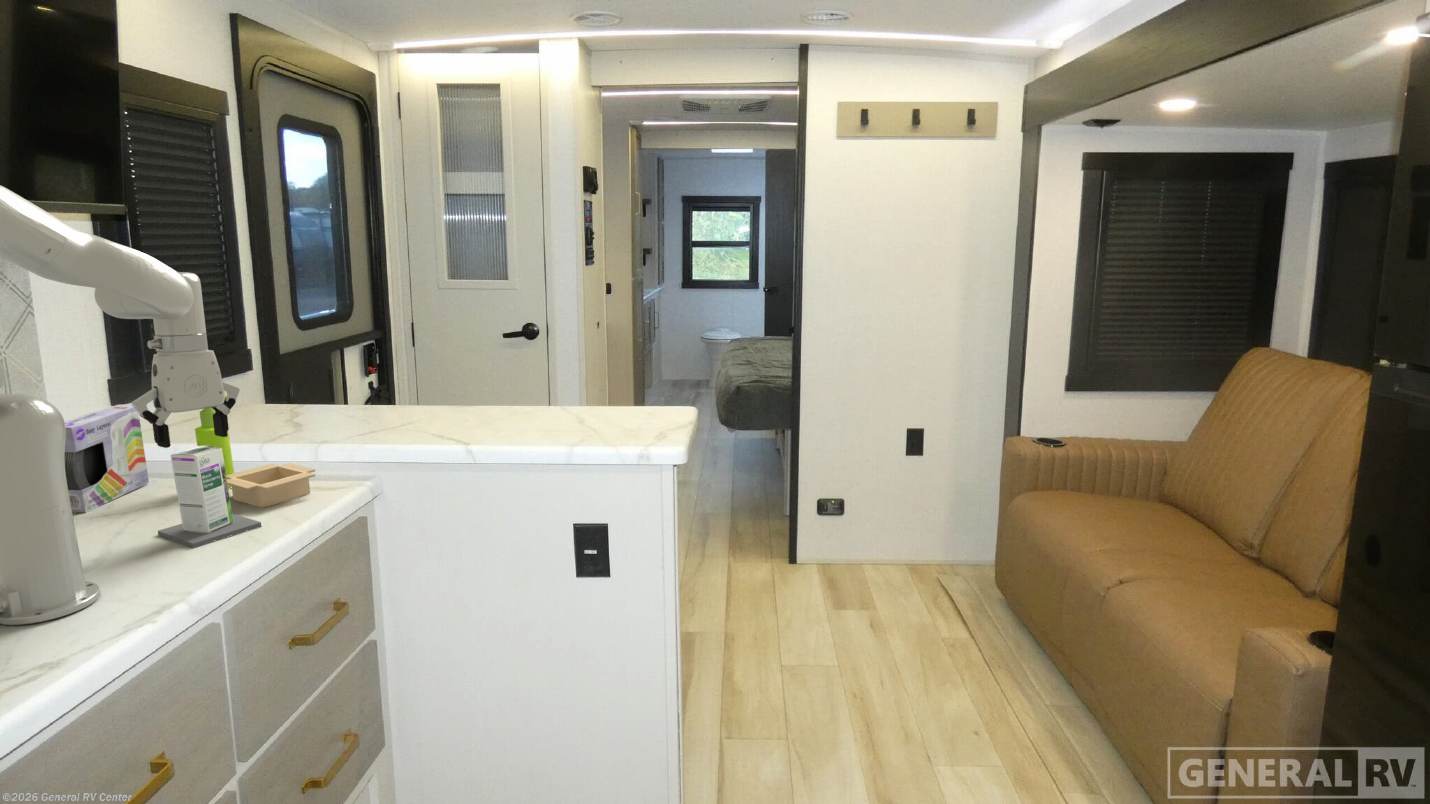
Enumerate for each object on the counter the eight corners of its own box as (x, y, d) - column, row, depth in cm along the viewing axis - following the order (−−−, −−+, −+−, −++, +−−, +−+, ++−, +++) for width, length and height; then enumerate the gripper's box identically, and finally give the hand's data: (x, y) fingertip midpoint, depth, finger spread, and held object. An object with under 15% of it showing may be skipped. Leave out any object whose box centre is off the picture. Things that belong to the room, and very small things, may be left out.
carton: (259, 513, 163) (256, 490, 162) (216, 500, 171) (213, 478, 170) (326, 492, 175) (324, 471, 174) (283, 481, 183) (281, 461, 182)
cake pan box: (83, 515, 163) (67, 426, 160) (58, 515, 164) (41, 426, 160) (152, 484, 182) (139, 403, 178) (130, 484, 182) (116, 403, 179)
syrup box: (208, 534, 150) (196, 455, 147) (181, 531, 152) (169, 452, 149) (234, 522, 156) (223, 446, 153) (208, 520, 157) (196, 444, 154)
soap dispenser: (230, 491, 176) (217, 397, 172) (197, 492, 176) (183, 397, 172) (246, 483, 182) (233, 391, 178) (214, 483, 182) (201, 391, 178)
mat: (193, 547, 146) (192, 543, 146) (158, 534, 153) (157, 530, 152) (261, 526, 156) (260, 522, 156) (225, 515, 162) (225, 511, 162)
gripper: (137, 351, 138) (150, 454, 141) (244, 341, 152) (253, 434, 155) (115, 348, 142) (128, 448, 145) (221, 338, 156) (231, 430, 159)
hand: (193, 441), depth 150 cm, fingers open, 9 cm apart
